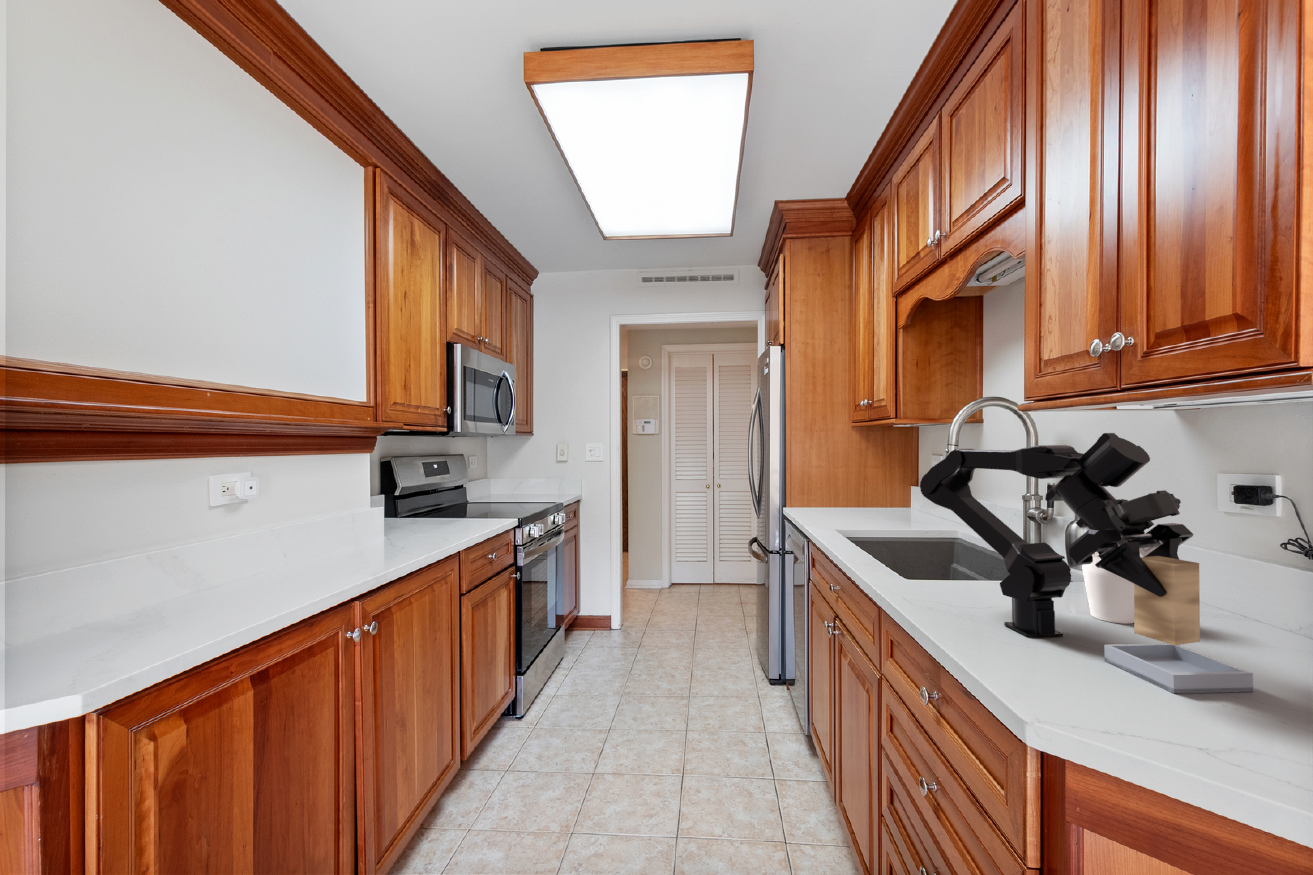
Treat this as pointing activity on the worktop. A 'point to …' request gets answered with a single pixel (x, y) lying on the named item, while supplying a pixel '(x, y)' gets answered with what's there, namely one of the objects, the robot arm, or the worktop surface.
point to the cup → (1108, 594)
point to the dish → (1178, 668)
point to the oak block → (1169, 602)
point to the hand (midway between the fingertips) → (1177, 593)
